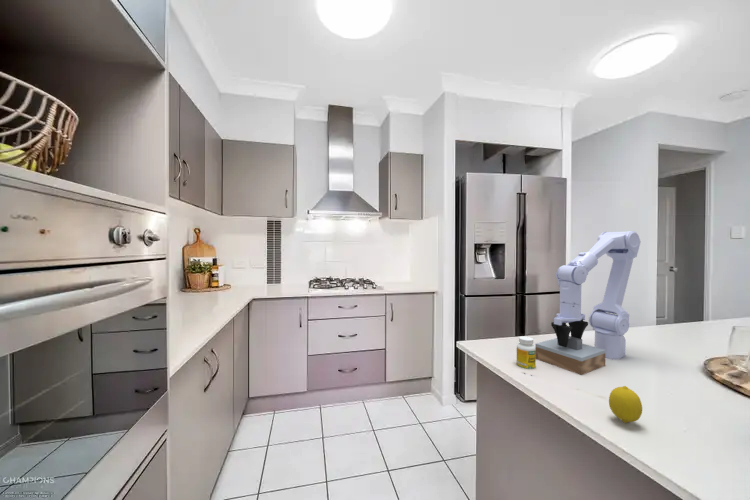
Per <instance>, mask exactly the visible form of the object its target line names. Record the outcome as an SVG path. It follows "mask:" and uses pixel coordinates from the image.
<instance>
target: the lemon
mask: <svg viewBox="0 0 750 500" xmlns="http://www.w3.org/2000/svg"><path fill="white" fill-rule="evenodd" d="M608 404H609V405H608V406H609V408H610V411H611V412H612V414H613V415H614V416H615V417H616V418H618V420H621V422H622V423H624V424H628V423H632V422H637V421H638V420H639V419H640V418H641V417H642V414H643V405H642V401H641V398H640V397H639V395H638V393H636V392H635V391H634V390H633V389H631V388H629V387H628V386H626V385H623V386H618V387H615V388H613V389H612V390H611V392H610V393H609V397H608Z"/></svg>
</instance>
